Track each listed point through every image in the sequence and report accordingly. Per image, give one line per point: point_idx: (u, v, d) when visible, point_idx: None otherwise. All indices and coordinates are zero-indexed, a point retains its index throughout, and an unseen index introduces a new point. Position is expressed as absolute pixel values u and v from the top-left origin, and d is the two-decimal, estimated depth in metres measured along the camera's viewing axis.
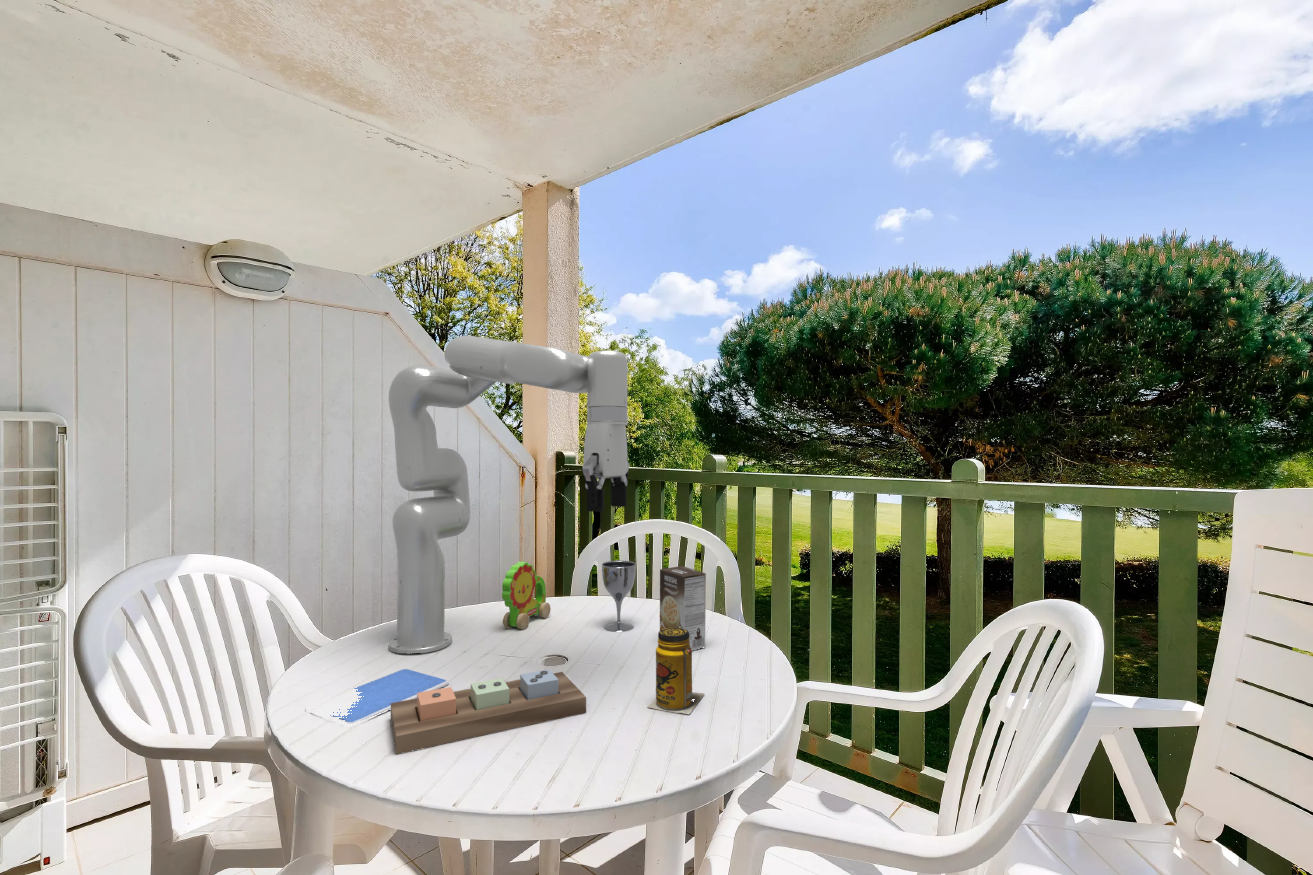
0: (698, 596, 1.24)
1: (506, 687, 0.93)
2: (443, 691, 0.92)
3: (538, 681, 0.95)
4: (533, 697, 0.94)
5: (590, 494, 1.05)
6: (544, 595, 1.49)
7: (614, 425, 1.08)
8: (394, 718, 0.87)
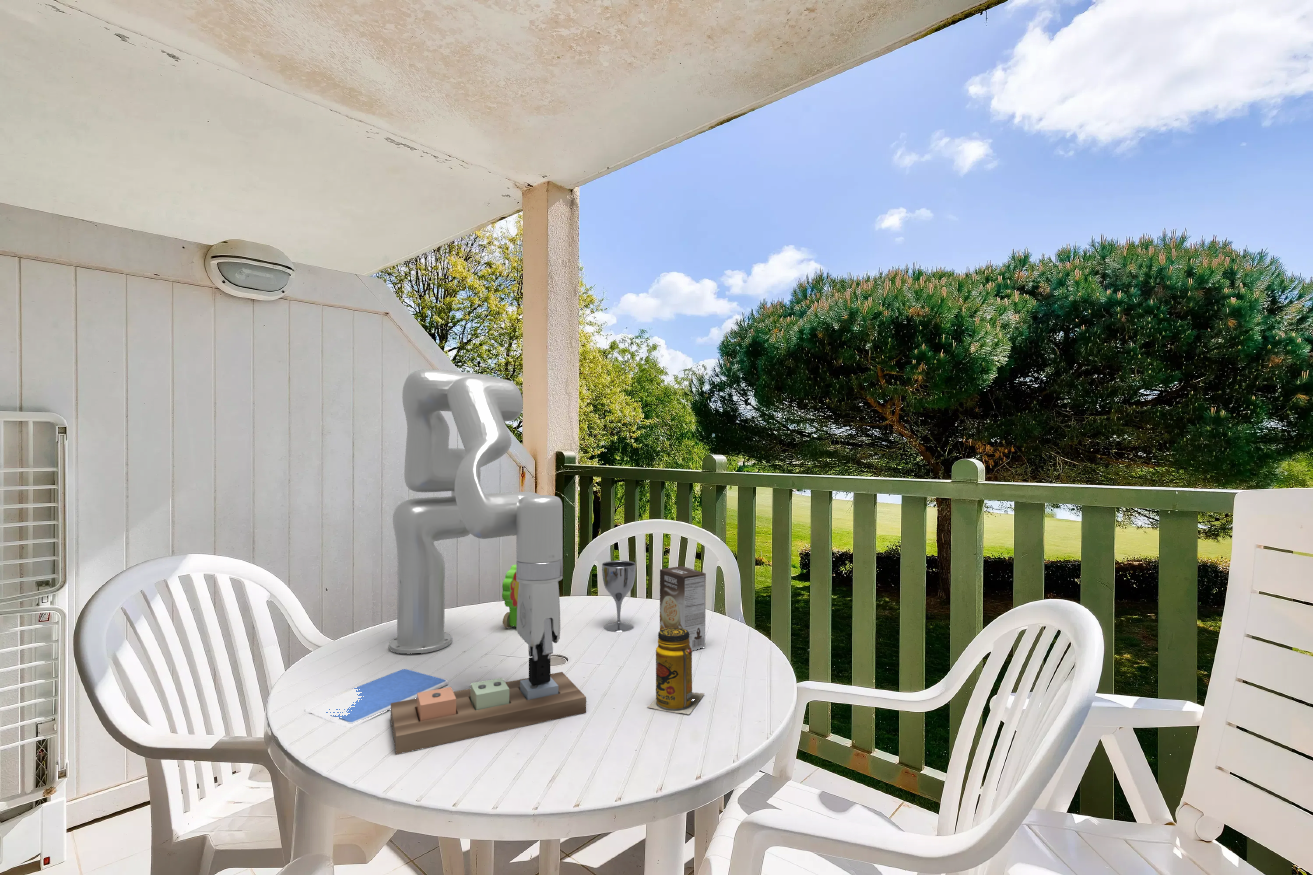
0: (698, 597, 1.24)
1: (506, 687, 0.93)
2: (443, 691, 0.92)
3: (538, 687, 0.95)
4: None
5: (539, 666, 0.96)
6: None
7: None
8: (394, 718, 0.87)
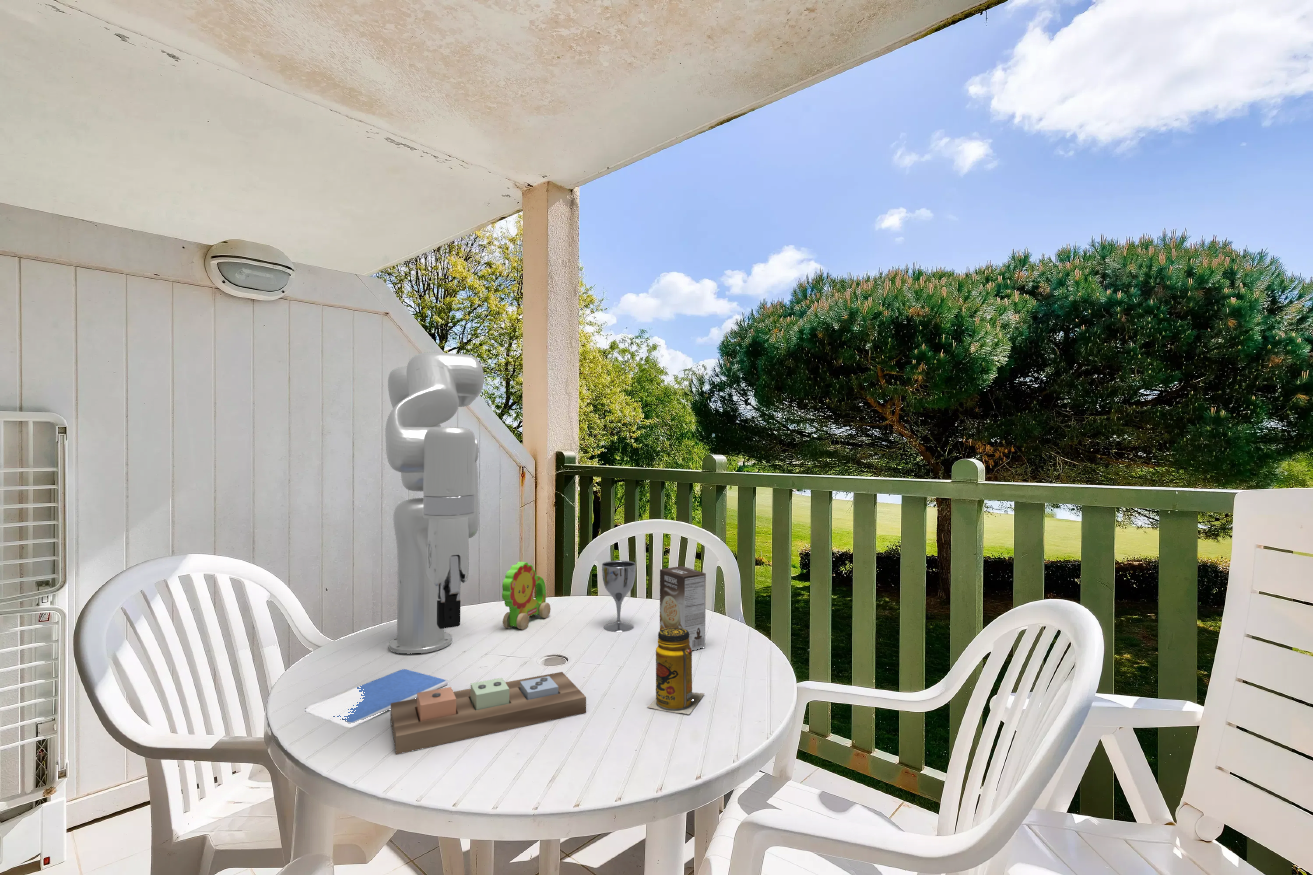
0: (698, 597, 1.24)
1: (506, 687, 0.93)
2: (443, 691, 0.92)
3: (538, 688, 0.95)
4: None
5: (447, 608, 0.89)
6: (544, 595, 1.49)
7: None
8: (394, 718, 0.87)
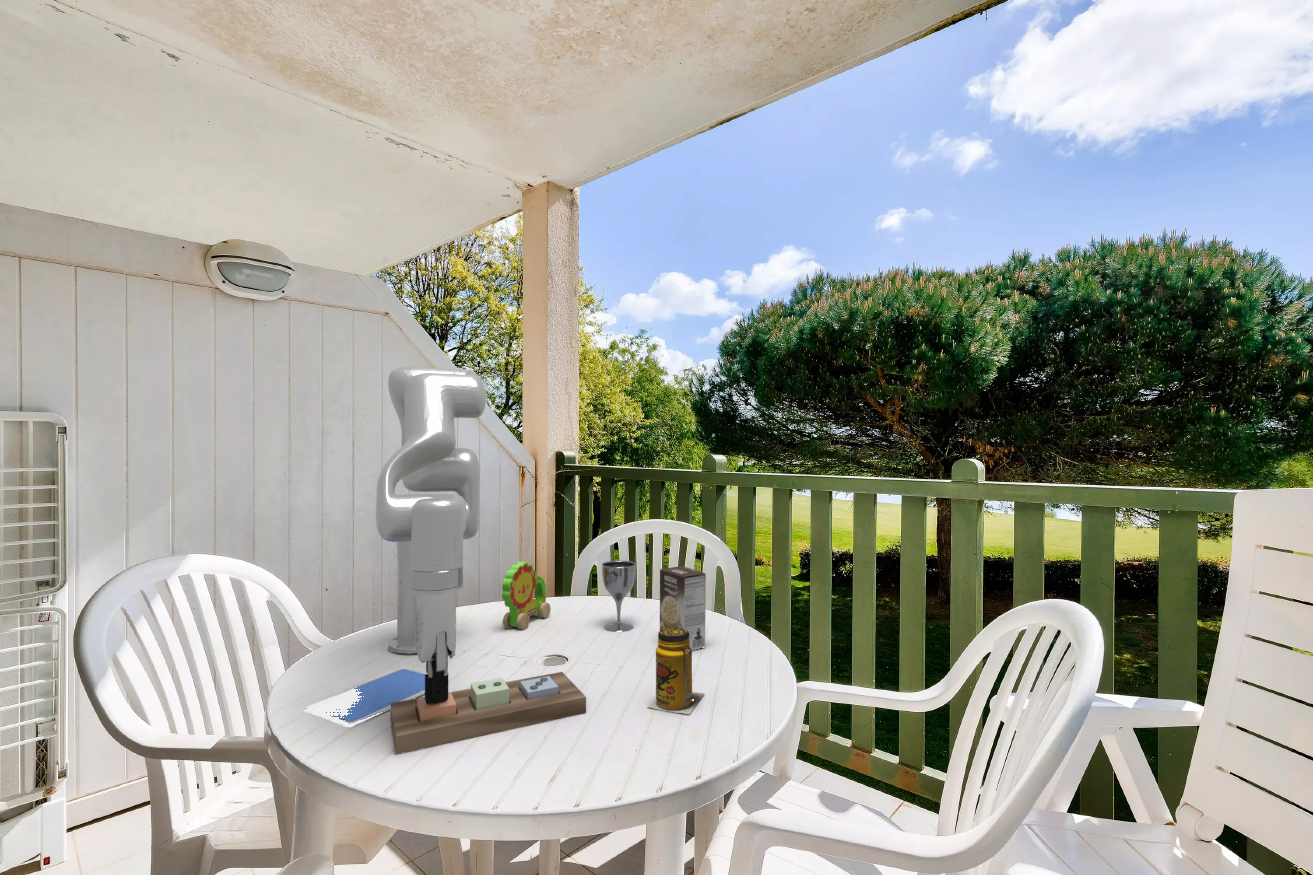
0: (698, 597, 1.24)
1: (506, 687, 0.93)
2: None
3: (538, 688, 0.95)
4: None
5: (434, 684, 0.88)
6: (544, 595, 1.49)
7: (455, 590, 0.90)
8: (394, 718, 0.87)
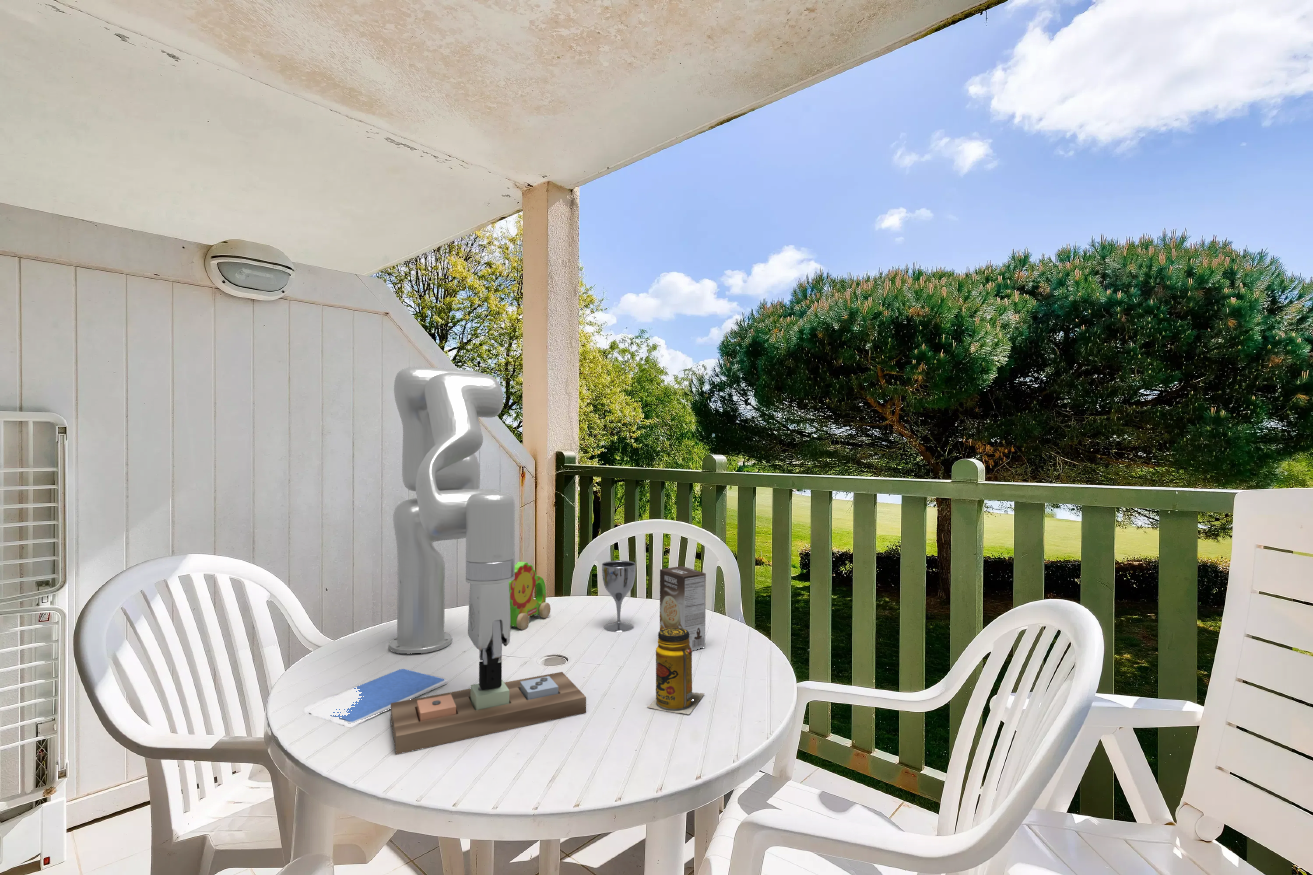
0: (698, 597, 1.24)
1: (506, 689, 0.93)
2: (443, 698, 0.92)
3: (538, 688, 0.95)
4: None
5: (489, 670, 0.92)
6: (544, 595, 1.49)
7: None
8: (394, 718, 0.87)
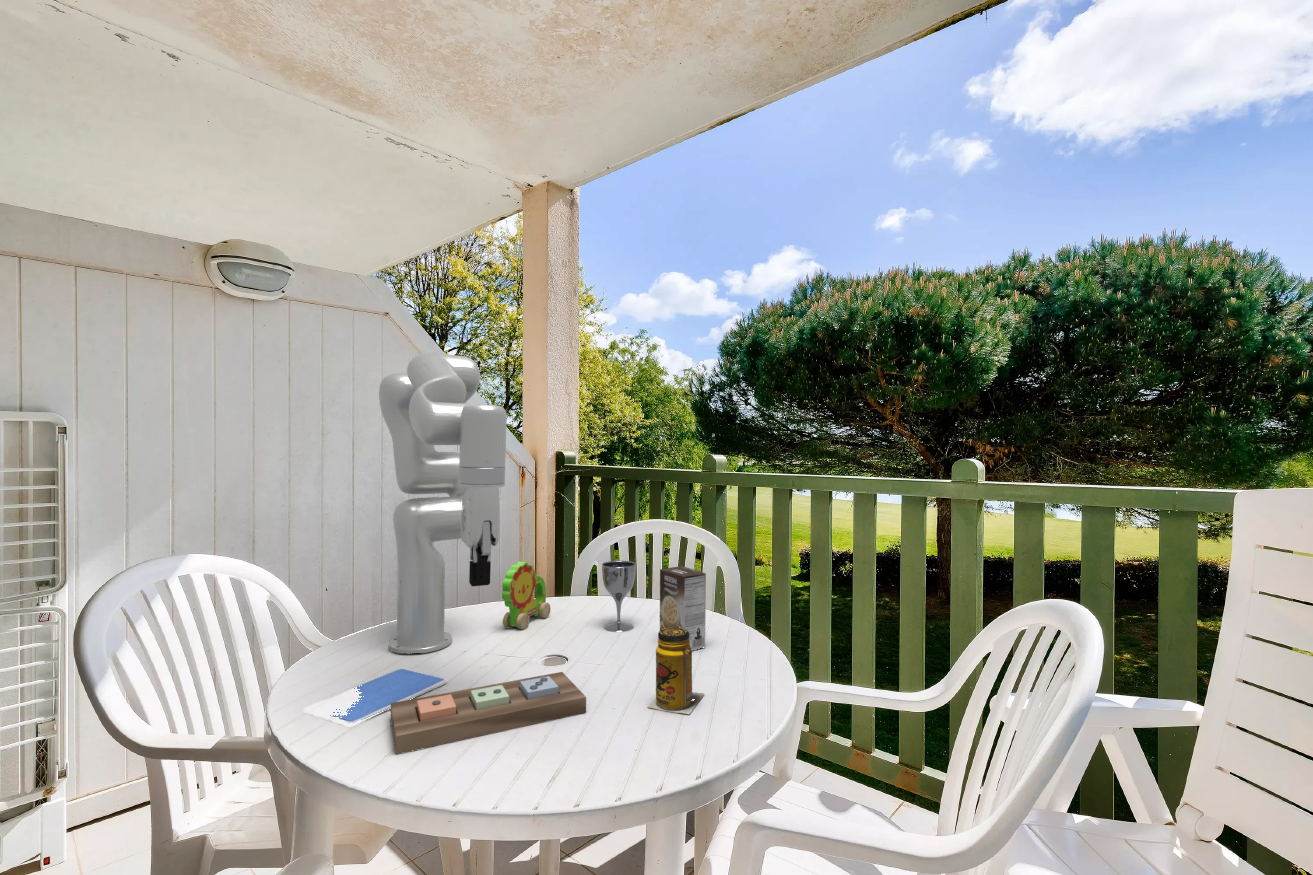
0: (698, 597, 1.24)
1: (506, 694, 0.93)
2: (443, 698, 0.92)
3: (538, 688, 0.95)
4: None
5: (478, 568, 0.99)
6: (544, 595, 1.49)
7: None
8: (394, 718, 0.87)
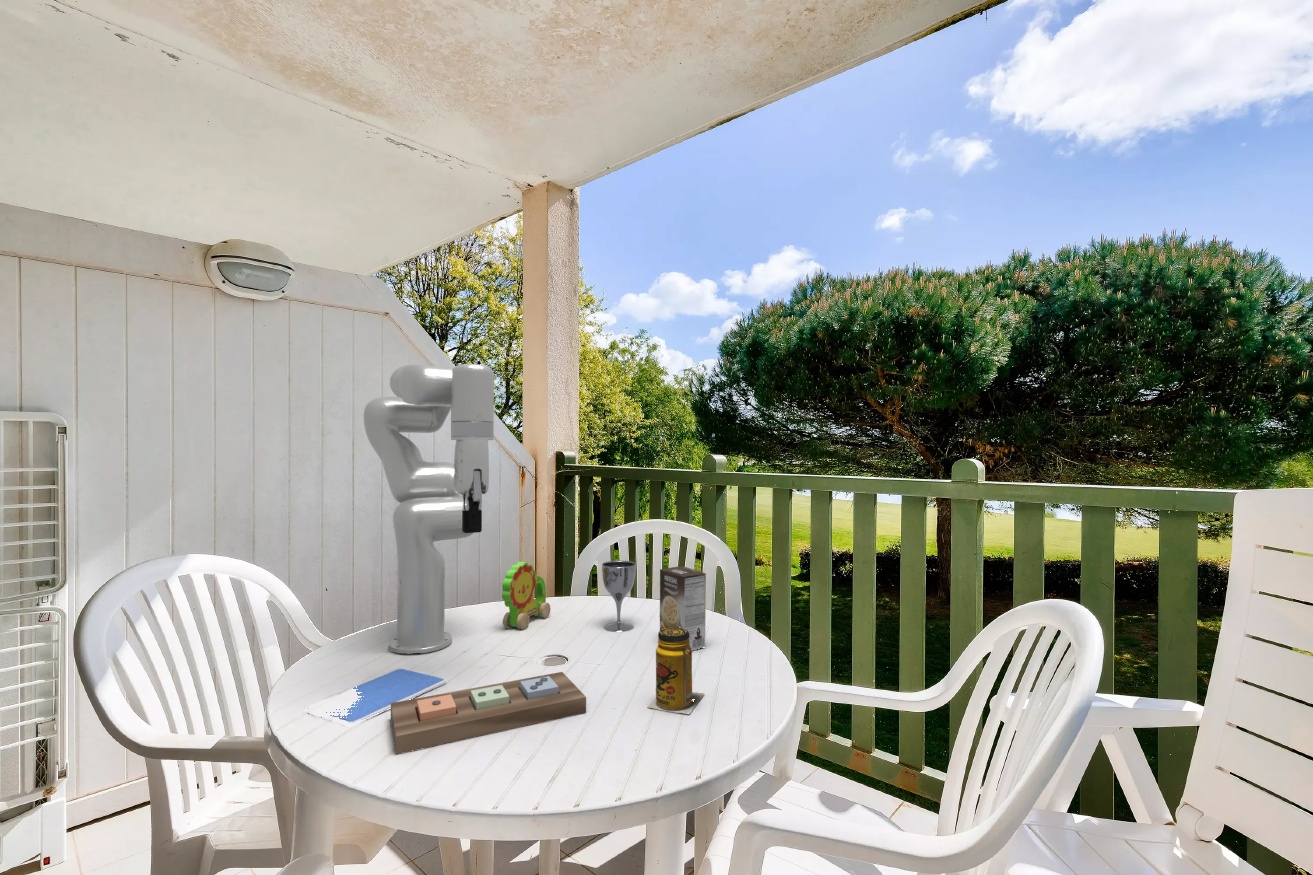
0: (698, 597, 1.24)
1: (506, 694, 0.93)
2: (443, 698, 0.92)
3: (538, 688, 0.95)
4: None
5: (470, 516, 1.07)
6: (544, 595, 1.49)
7: None
8: (394, 718, 0.87)
